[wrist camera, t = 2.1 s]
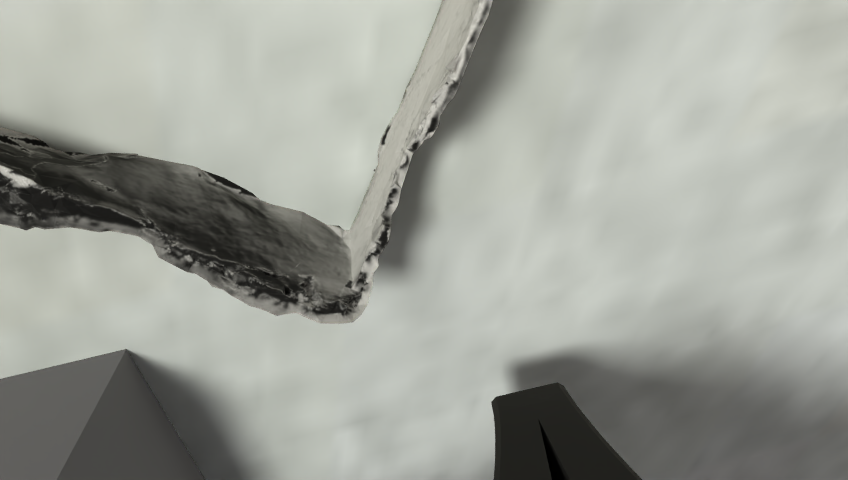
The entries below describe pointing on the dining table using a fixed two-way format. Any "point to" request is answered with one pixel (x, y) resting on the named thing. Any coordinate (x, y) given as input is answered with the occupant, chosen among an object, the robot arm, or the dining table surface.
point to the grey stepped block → (88, 425)
